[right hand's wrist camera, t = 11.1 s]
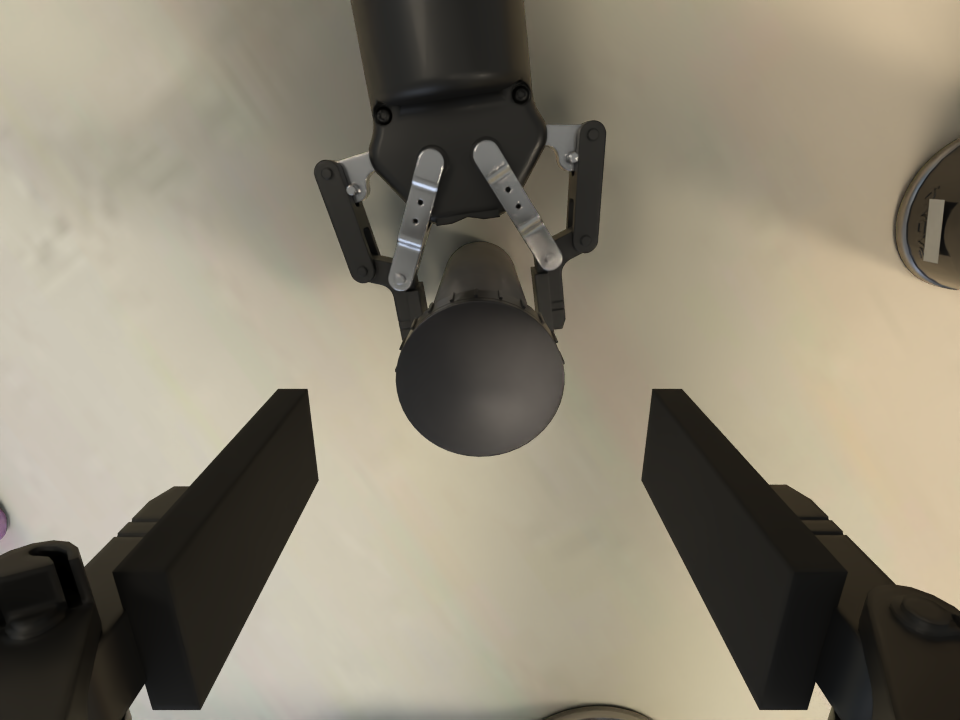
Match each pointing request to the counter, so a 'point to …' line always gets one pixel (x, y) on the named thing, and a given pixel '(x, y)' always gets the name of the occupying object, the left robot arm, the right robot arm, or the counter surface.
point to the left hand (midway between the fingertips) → (486, 343)
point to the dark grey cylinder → (480, 271)
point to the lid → (480, 373)
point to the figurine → (3, 524)
